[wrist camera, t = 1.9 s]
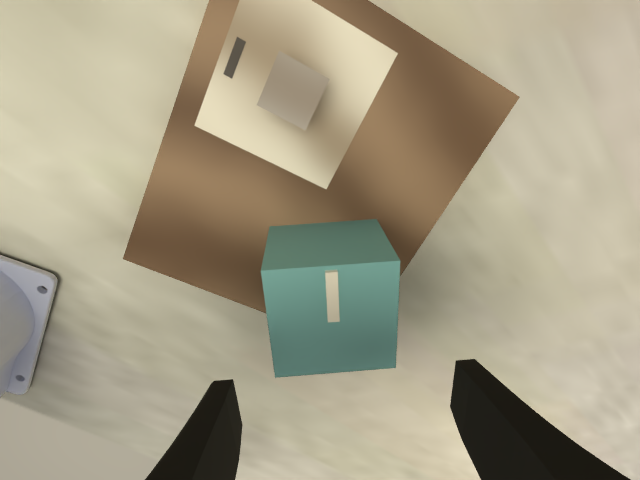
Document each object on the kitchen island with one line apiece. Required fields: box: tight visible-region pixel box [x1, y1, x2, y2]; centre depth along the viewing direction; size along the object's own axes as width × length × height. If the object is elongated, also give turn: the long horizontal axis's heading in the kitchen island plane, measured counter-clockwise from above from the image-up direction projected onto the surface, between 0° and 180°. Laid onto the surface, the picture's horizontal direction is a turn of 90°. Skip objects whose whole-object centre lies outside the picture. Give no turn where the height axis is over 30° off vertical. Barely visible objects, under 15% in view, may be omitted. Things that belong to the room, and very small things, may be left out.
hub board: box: [123, 0, 519, 313], centre depth 17 cm, size 16×14×4 cm
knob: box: [261, 219, 400, 378], centre depth 18 cm, size 6×6×5 cm
